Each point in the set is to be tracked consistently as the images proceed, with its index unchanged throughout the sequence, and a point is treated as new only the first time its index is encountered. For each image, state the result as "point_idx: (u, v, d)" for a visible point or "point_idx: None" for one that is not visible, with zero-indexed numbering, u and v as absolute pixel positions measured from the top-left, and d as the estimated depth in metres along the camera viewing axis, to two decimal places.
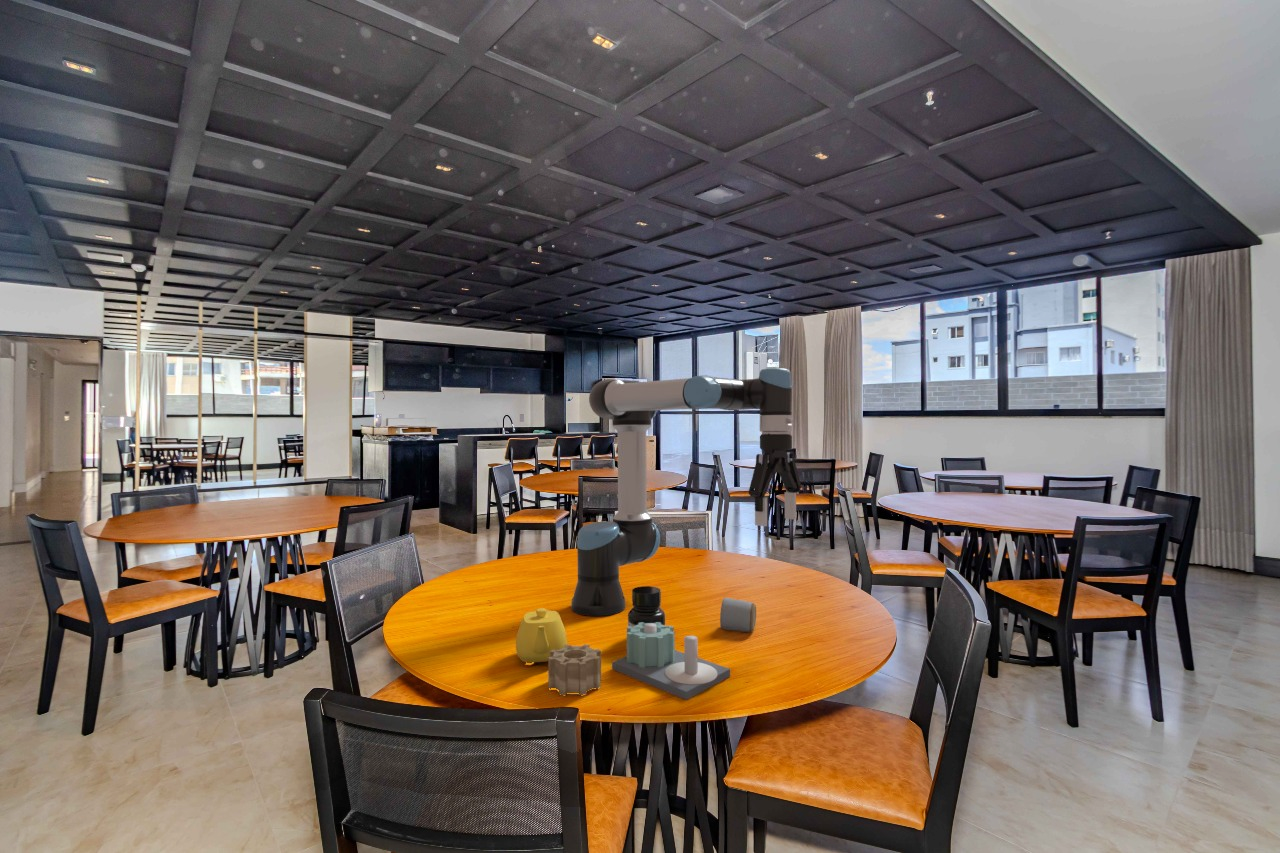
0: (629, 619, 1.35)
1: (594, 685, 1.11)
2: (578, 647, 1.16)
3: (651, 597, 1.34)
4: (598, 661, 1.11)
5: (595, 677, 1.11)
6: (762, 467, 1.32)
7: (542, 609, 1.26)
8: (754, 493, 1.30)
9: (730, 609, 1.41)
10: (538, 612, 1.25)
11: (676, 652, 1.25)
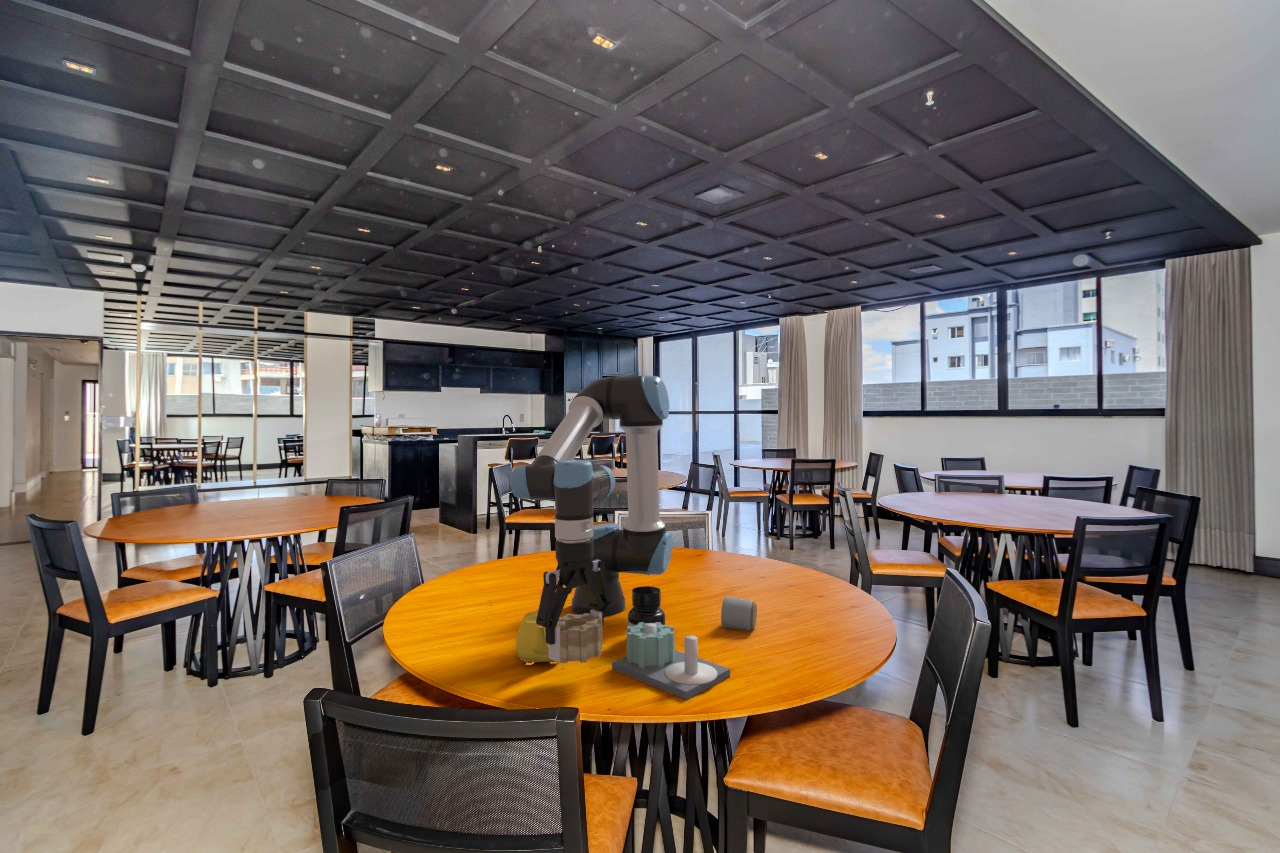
0: (629, 619, 1.35)
1: (595, 652, 1.12)
2: (579, 616, 1.17)
3: (651, 597, 1.34)
4: (599, 628, 1.12)
5: (596, 644, 1.11)
6: (549, 590, 1.08)
7: None
8: (541, 625, 1.07)
9: (731, 608, 1.42)
10: None
11: (676, 652, 1.25)
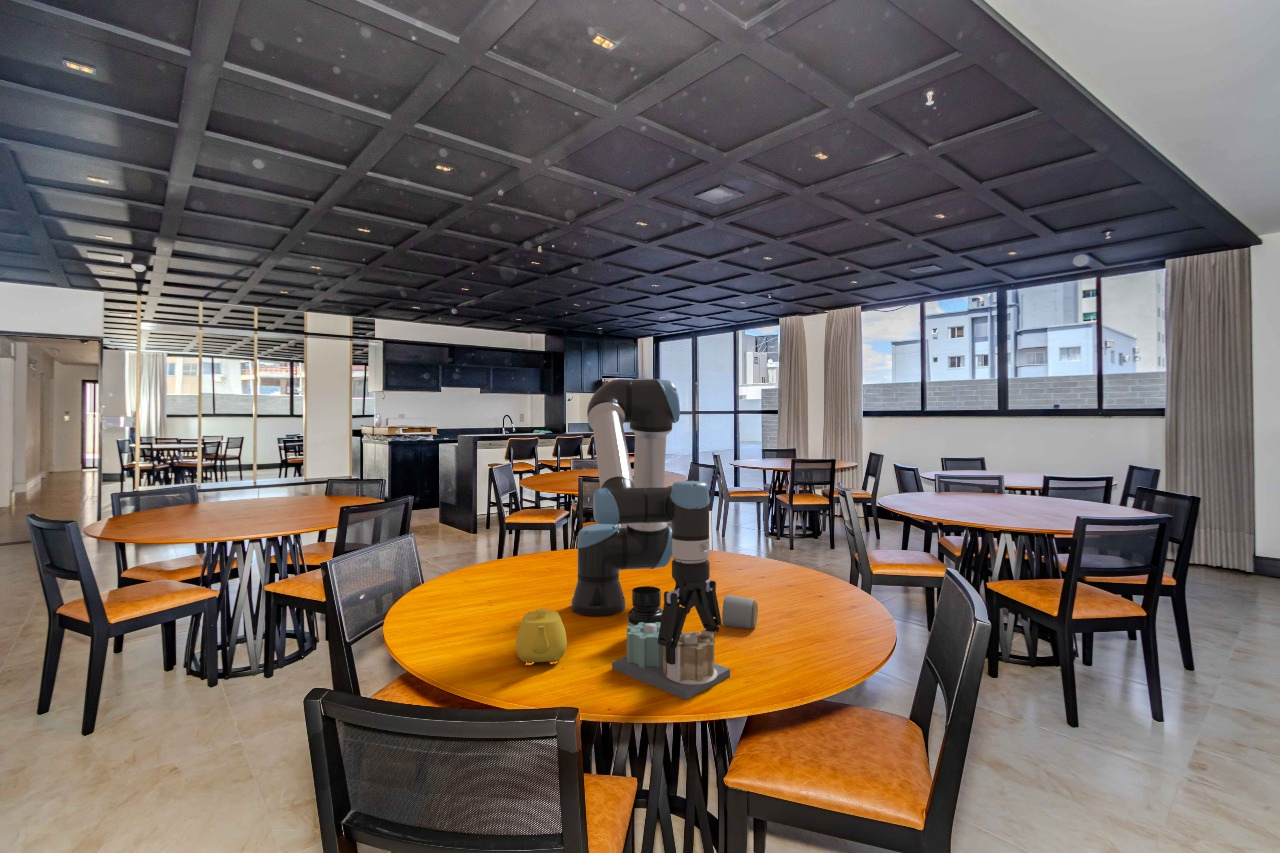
0: (629, 619, 1.35)
1: (708, 671, 1.13)
2: (689, 634, 1.19)
3: (651, 597, 1.34)
4: (713, 647, 1.13)
5: (710, 663, 1.13)
6: (671, 610, 1.09)
7: (542, 609, 1.26)
8: (663, 644, 1.08)
9: (732, 606, 1.44)
10: (538, 612, 1.25)
11: None
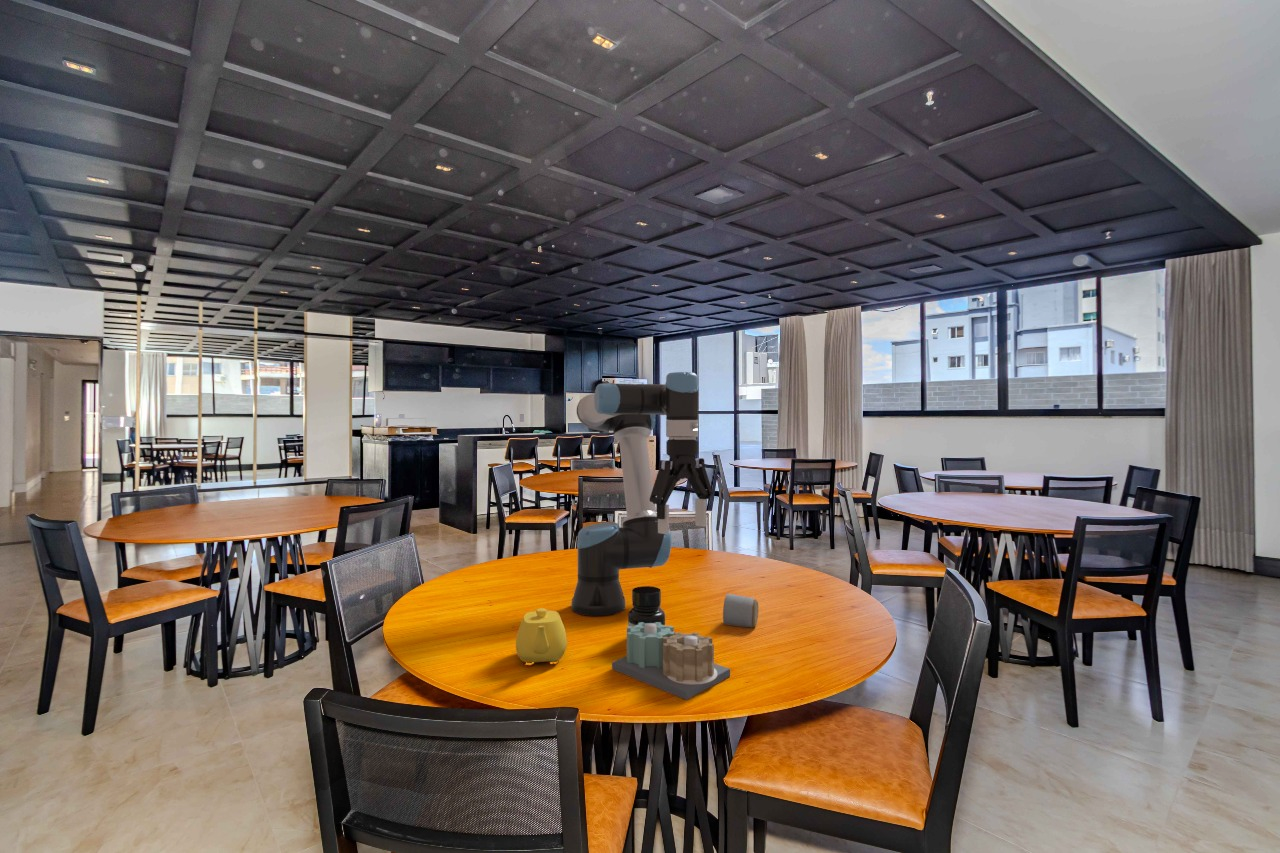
0: (629, 619, 1.35)
1: (708, 671, 1.13)
2: (688, 635, 1.19)
3: (652, 597, 1.34)
4: (712, 648, 1.13)
5: (709, 664, 1.13)
6: (664, 473, 1.28)
7: (542, 609, 1.26)
8: (654, 500, 1.27)
9: (733, 605, 1.45)
10: (538, 612, 1.25)
11: None
